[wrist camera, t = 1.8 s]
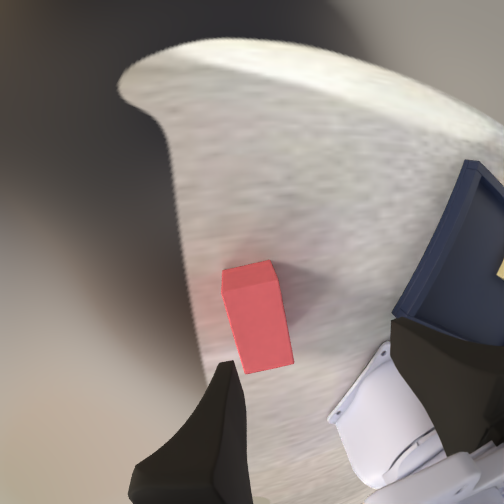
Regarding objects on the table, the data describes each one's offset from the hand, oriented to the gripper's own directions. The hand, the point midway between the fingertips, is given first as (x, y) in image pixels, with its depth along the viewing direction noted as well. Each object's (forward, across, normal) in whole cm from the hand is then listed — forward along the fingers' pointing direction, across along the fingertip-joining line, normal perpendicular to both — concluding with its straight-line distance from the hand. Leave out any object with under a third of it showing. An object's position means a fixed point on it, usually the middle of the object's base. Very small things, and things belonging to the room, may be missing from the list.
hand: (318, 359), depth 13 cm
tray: (+8, -20, +5) cm, 22 cm away
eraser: (+8, +2, +1) cm, 9 cm away
